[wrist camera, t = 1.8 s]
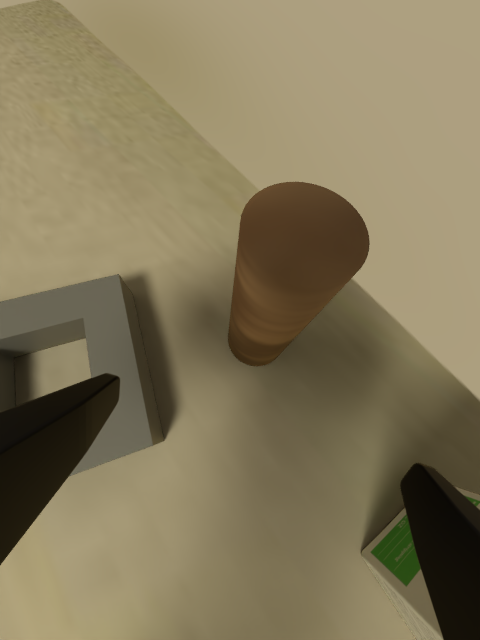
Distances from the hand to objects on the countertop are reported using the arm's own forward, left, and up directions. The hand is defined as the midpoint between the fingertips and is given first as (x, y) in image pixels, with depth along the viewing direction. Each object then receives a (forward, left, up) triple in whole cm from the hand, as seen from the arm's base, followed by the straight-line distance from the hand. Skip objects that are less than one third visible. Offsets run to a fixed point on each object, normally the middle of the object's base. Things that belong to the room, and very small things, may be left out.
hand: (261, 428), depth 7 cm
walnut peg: (+6, -4, -13) cm, 15 cm away
